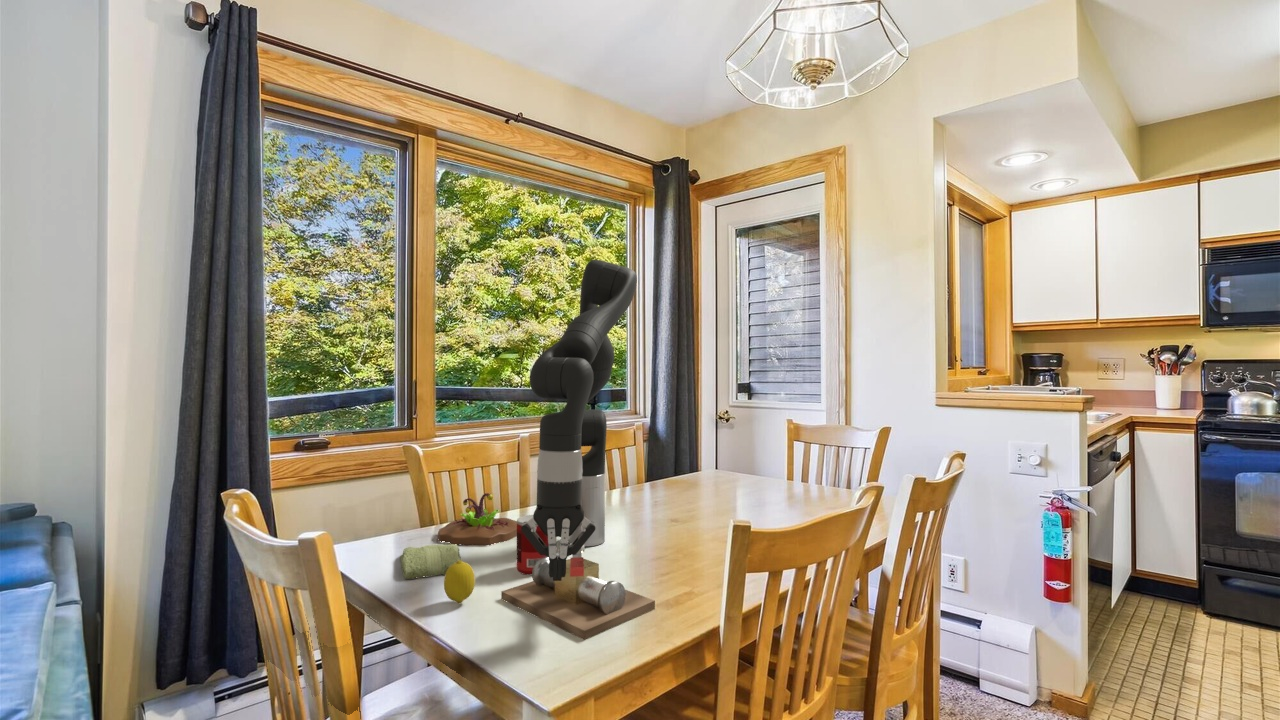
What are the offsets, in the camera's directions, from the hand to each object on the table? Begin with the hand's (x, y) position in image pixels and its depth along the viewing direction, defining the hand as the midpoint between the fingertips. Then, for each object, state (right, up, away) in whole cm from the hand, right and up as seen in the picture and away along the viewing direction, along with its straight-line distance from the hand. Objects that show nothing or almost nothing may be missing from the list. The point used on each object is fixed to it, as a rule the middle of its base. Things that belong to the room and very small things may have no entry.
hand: (557, 579), depth 99 cm
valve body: (+2, -9, +11) cm, 14 cm away
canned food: (-9, -9, +30) cm, 33 cm away
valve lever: (+3, +1, +5) cm, 6 cm away
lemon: (-20, -9, +11) cm, 25 cm away
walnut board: (+2, -9, +11) cm, 14 cm away
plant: (-28, -10, +56) cm, 63 cm away
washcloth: (-33, -10, +33) cm, 47 cm away
